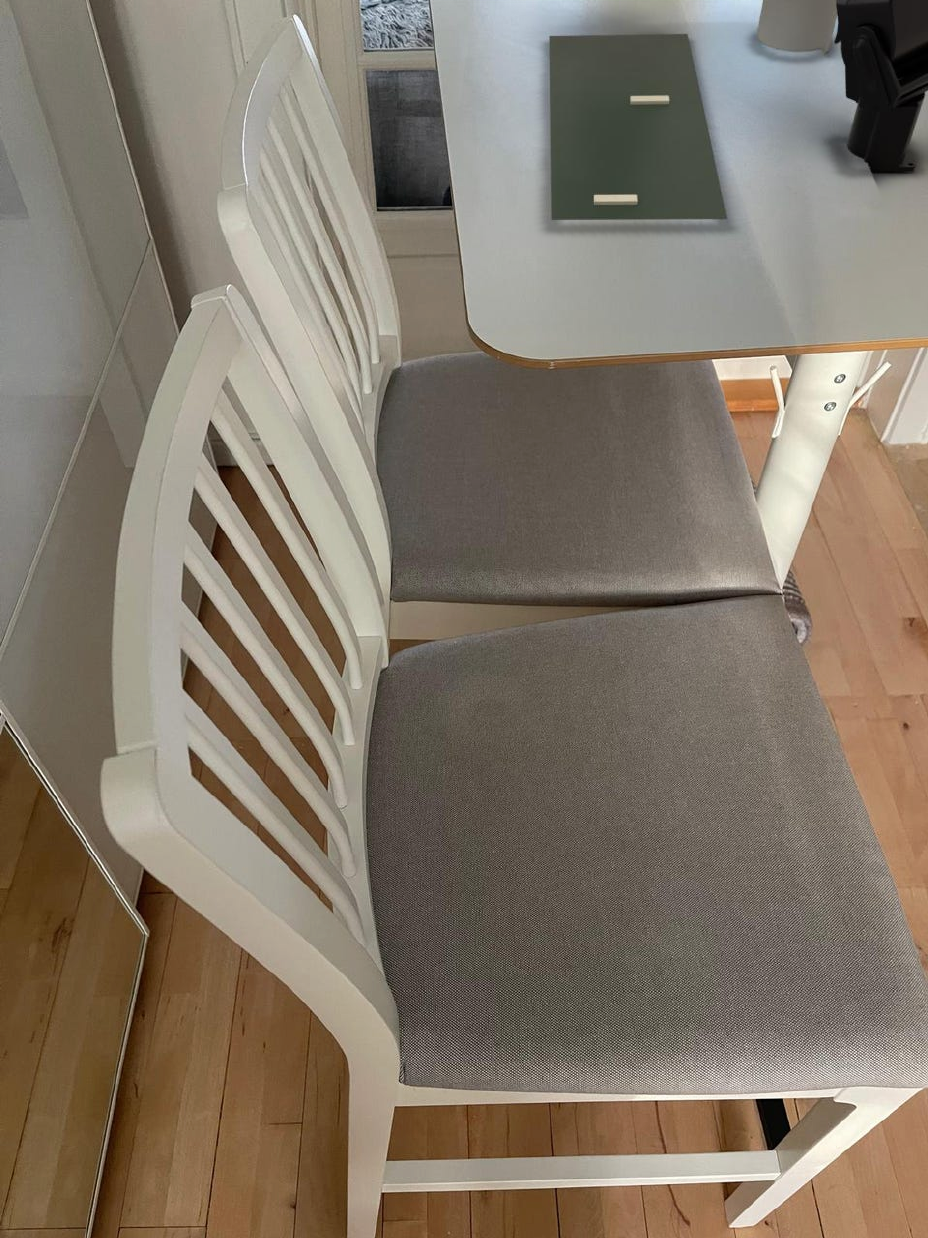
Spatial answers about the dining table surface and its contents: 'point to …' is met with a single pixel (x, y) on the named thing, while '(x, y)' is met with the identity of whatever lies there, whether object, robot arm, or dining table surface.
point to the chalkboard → (629, 130)
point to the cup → (797, 24)
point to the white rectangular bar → (615, 200)
